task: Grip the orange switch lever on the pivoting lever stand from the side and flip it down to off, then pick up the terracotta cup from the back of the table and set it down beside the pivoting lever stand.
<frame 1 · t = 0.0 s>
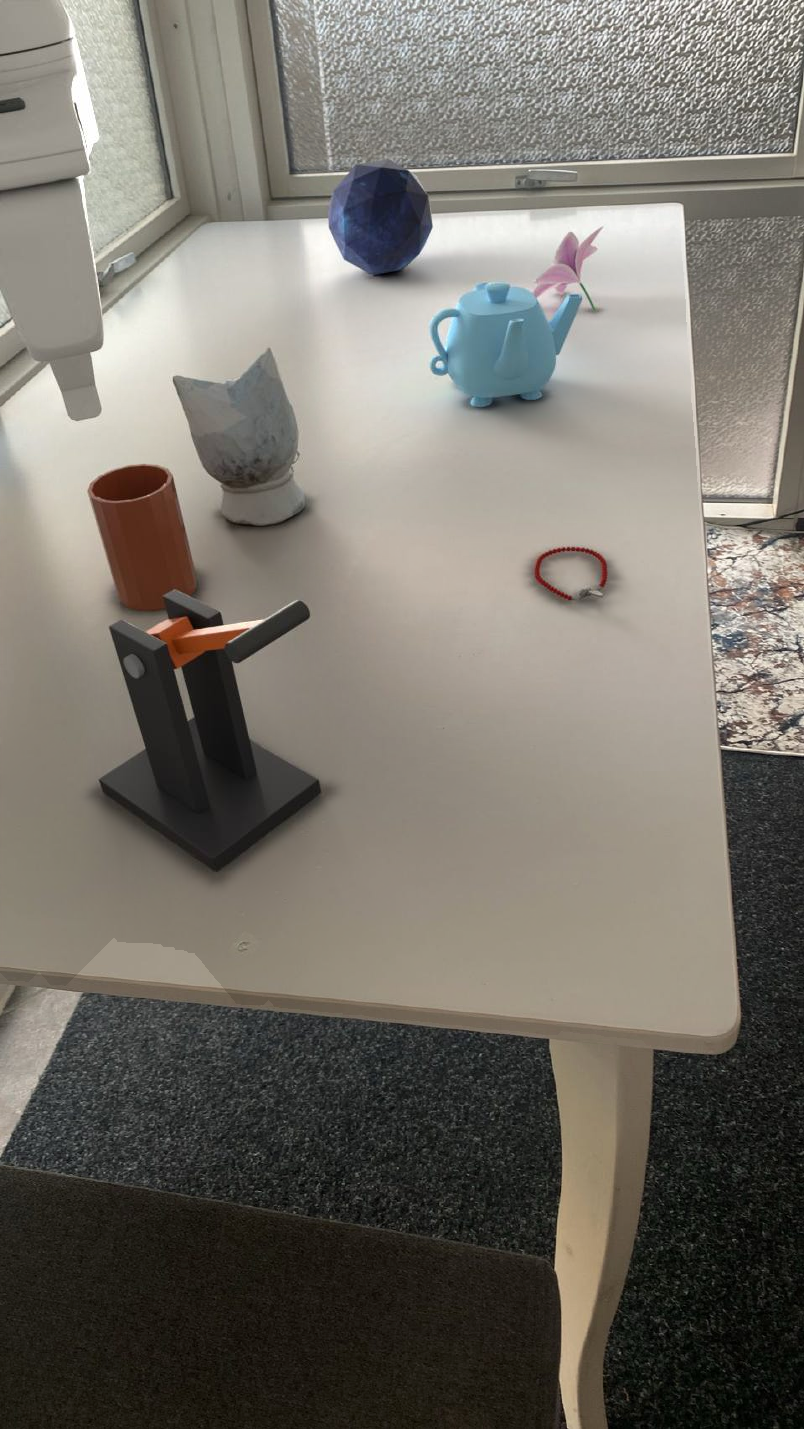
hand: (77, 385, 64), 26 cm above the table, tool pointing down, fingers open, 8 cm apart
cup: (158, 589, 95), on the table
switch lever: (212, 638, 63), point 14 cm above the table, hinge at 26.0°
lily: (567, 306, 142), on the table
red beaded bracelet: (572, 580, 91), on the table
teapot: (506, 390, 122), on the table
pivoting lever stand: (210, 792, 74), on the table
decorative orb: (385, 271, 160), on the table
figurine: (258, 508, 106), on the table
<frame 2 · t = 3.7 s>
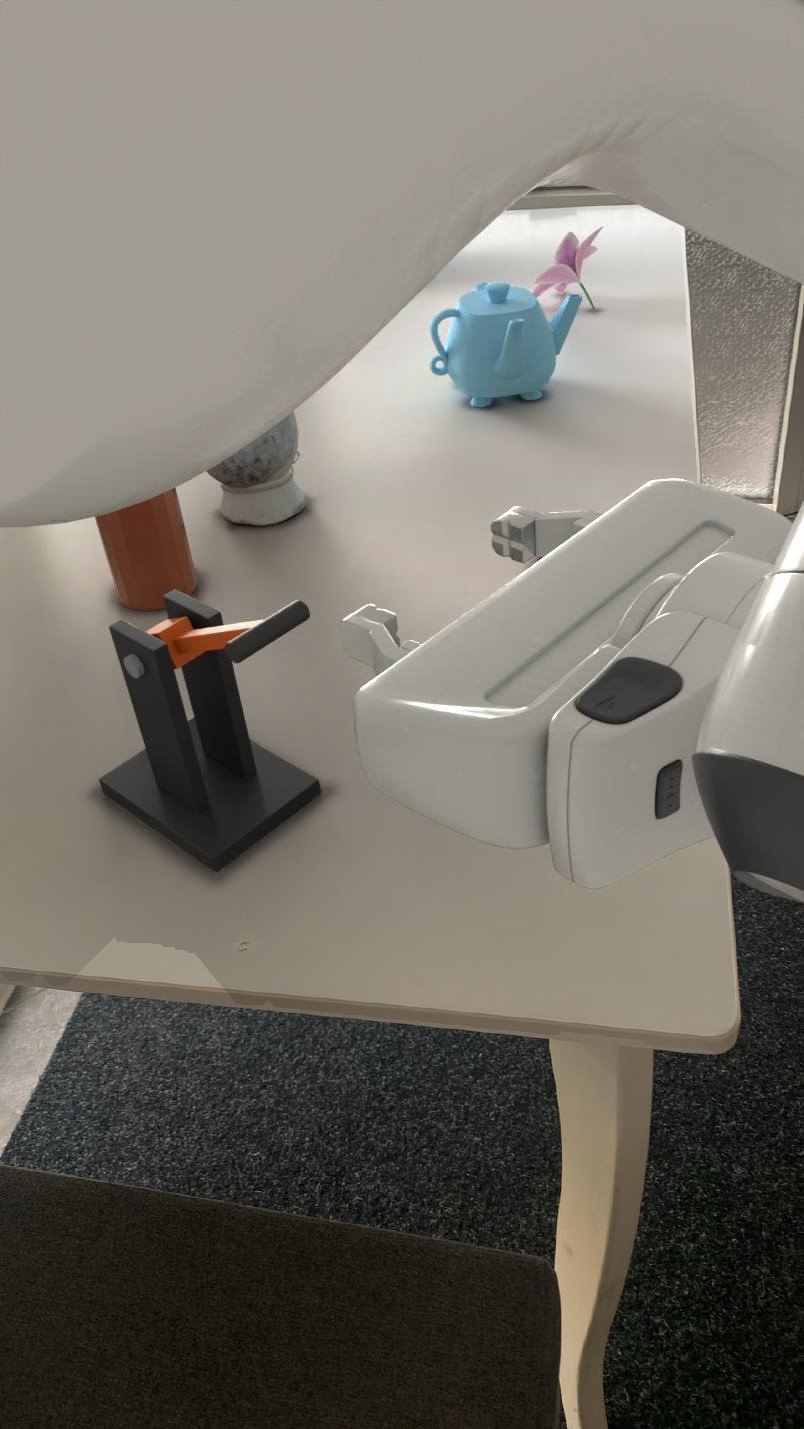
hand: (431, 575, 47), 24 cm above the table, tool horizontal, fingers open, 8 cm apart
nothing on the table moved.
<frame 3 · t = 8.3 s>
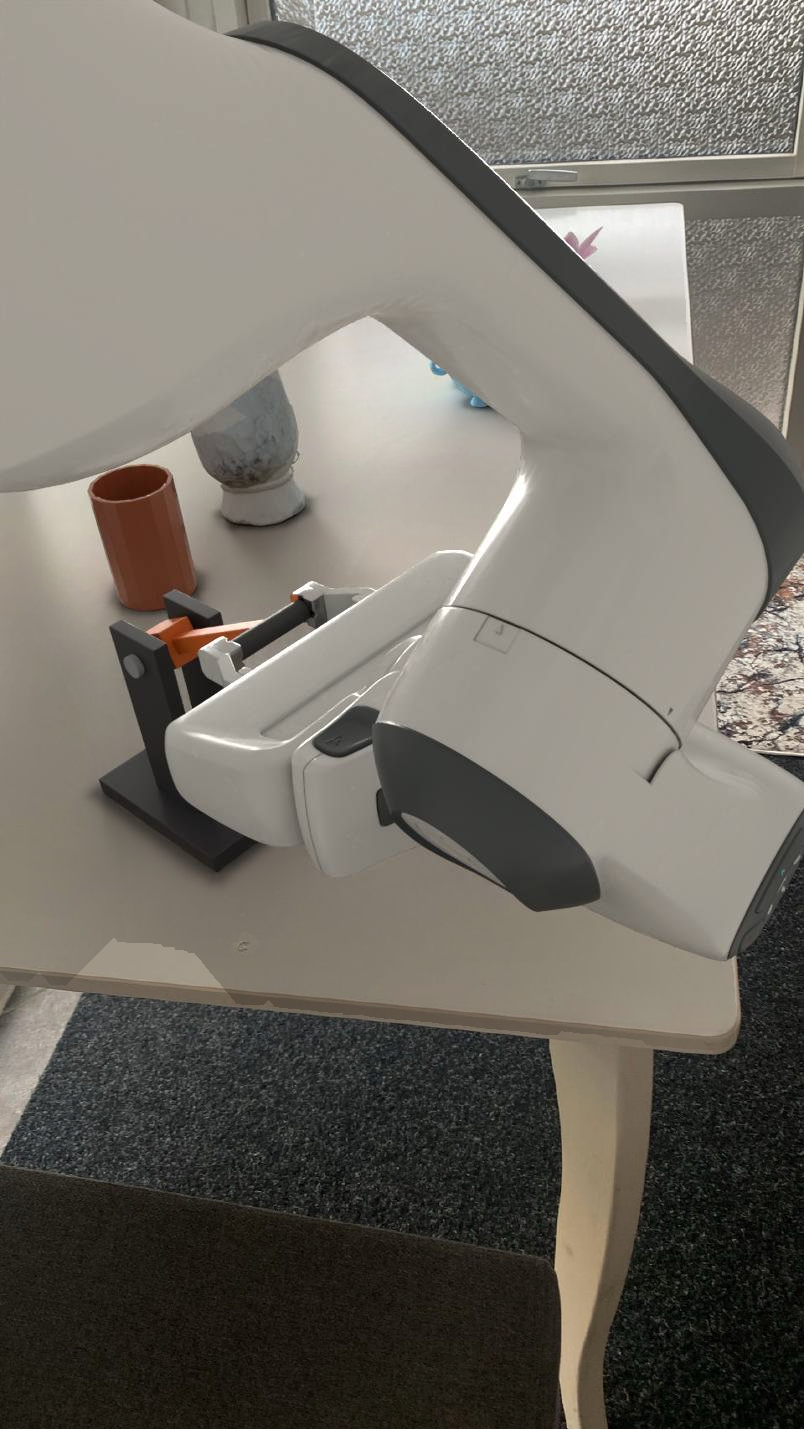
hand: (256, 626, 58), 17 cm above the table, tool horizontal, fingers closed on switch lever, 5 cm apart
switch lever: (212, 638, 63), point 14 cm above the table, hinge at 26.0°, touching gripper
everything else where it was.
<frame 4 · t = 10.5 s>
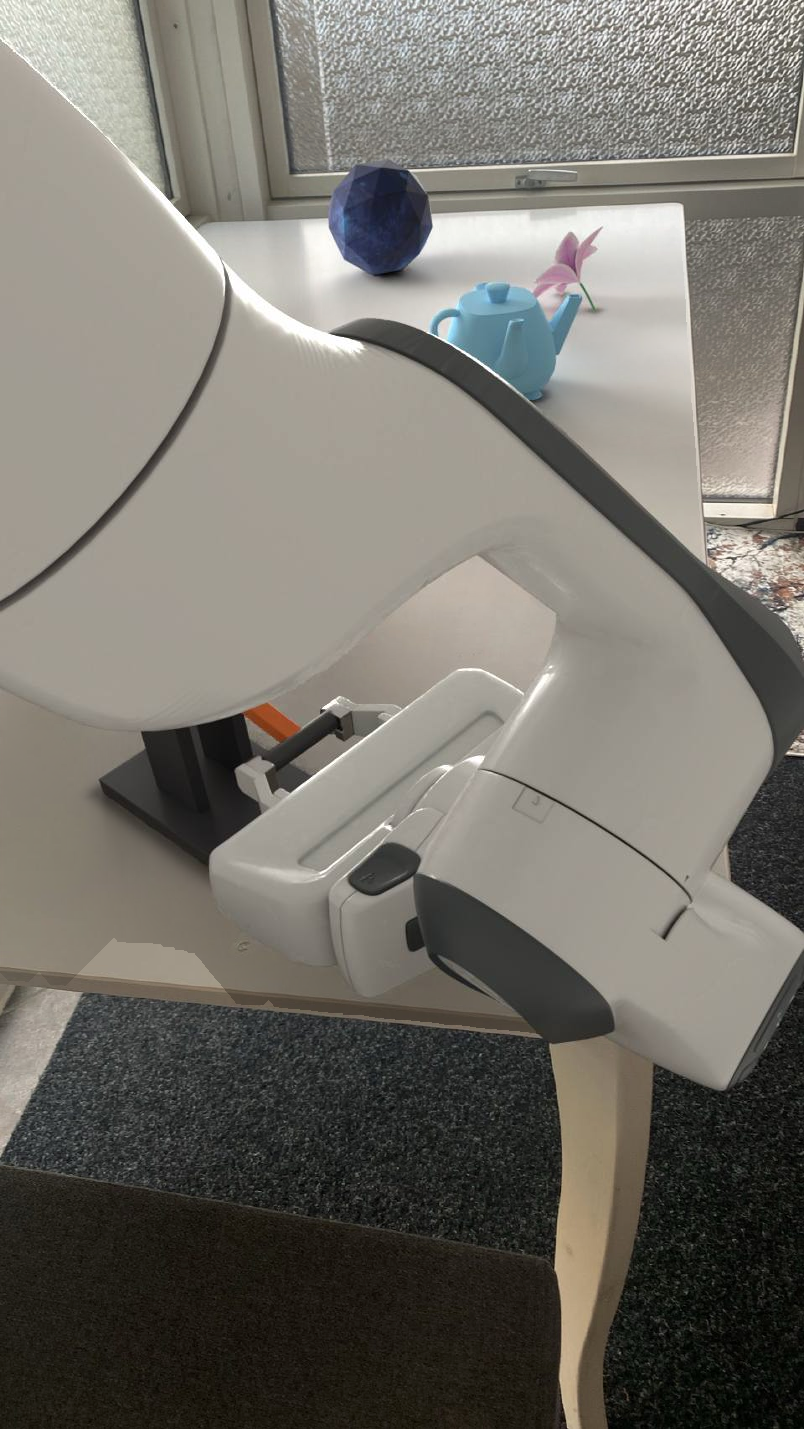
hand: (288, 740, 63), 9 cm above the table, tool horizontal, fingers closed on switch lever, 5 cm apart
switch lever: (228, 687, 64), point 11 cm above the table, hinge at -12.0°, touching gripper
everything else where it was.
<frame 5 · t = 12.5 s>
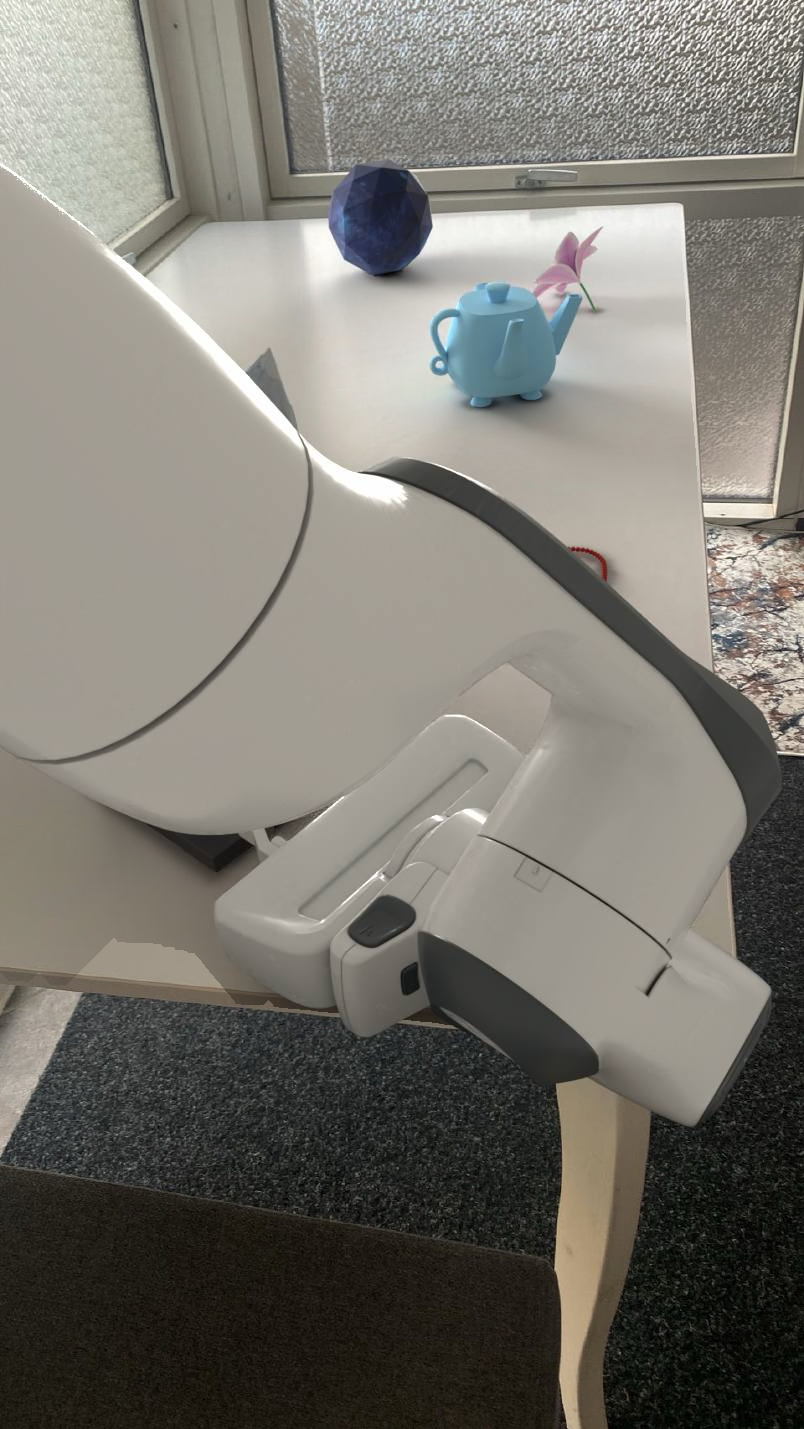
hand: (282, 784, 66), 5 cm above the table, tool horizontal, fingers closed on switch lever, 5 cm apart
switch lever: (225, 706, 66), point 9 cm above the table, hinge at -33.3°, touching gripper
everything else where it was.
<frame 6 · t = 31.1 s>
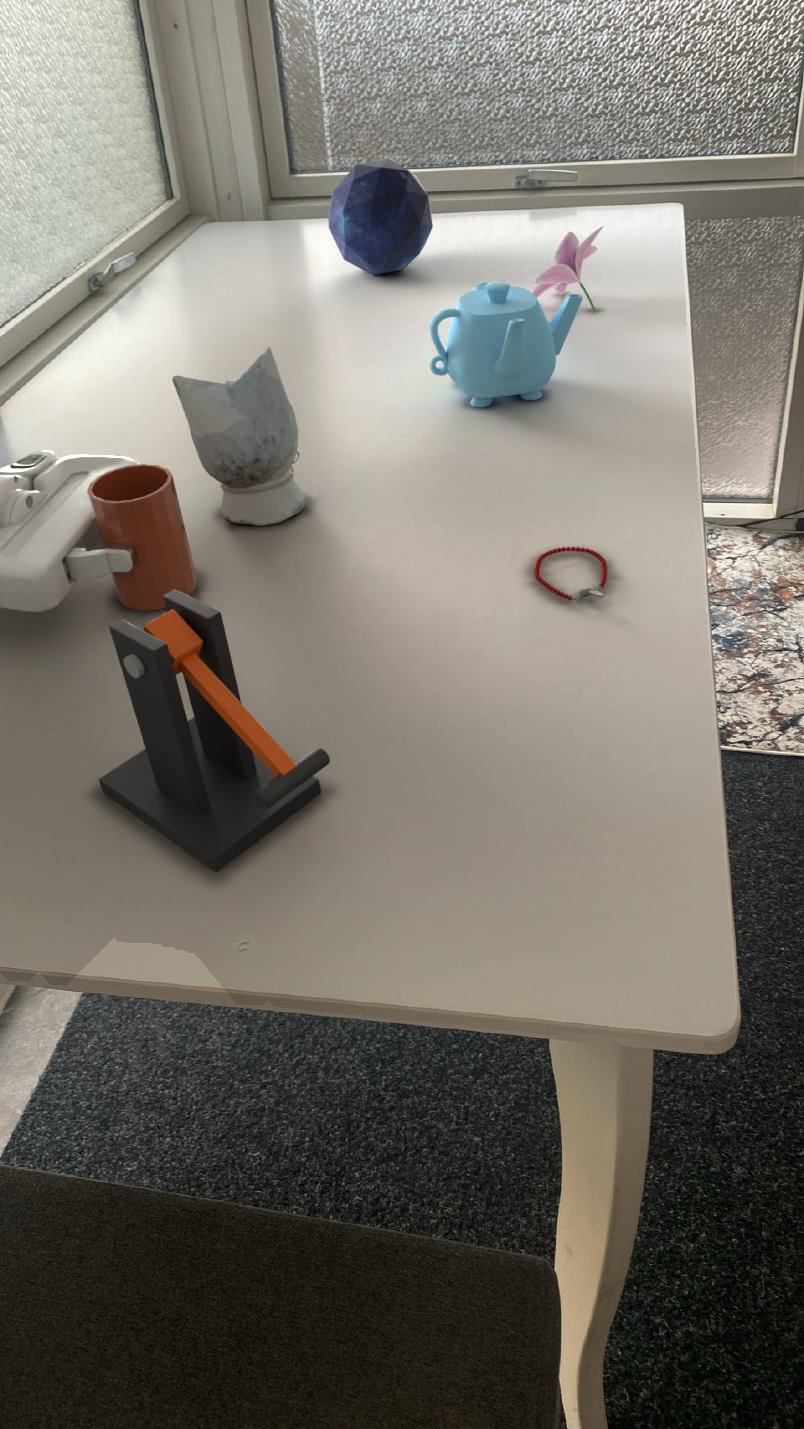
hand: (153, 532, 92), 6 cm above the table, tool horizontal, fingers closed on cup, 7 cm apart
cup: (158, 589, 95), on the table, touching gripper
switch lever: (226, 705, 66), point 9 cm above the table, hinge at -30.8°
everything else where it was.
when the fingers open (5 cm above the table, at t = 40.1 s): cup stays where it is, on the table.
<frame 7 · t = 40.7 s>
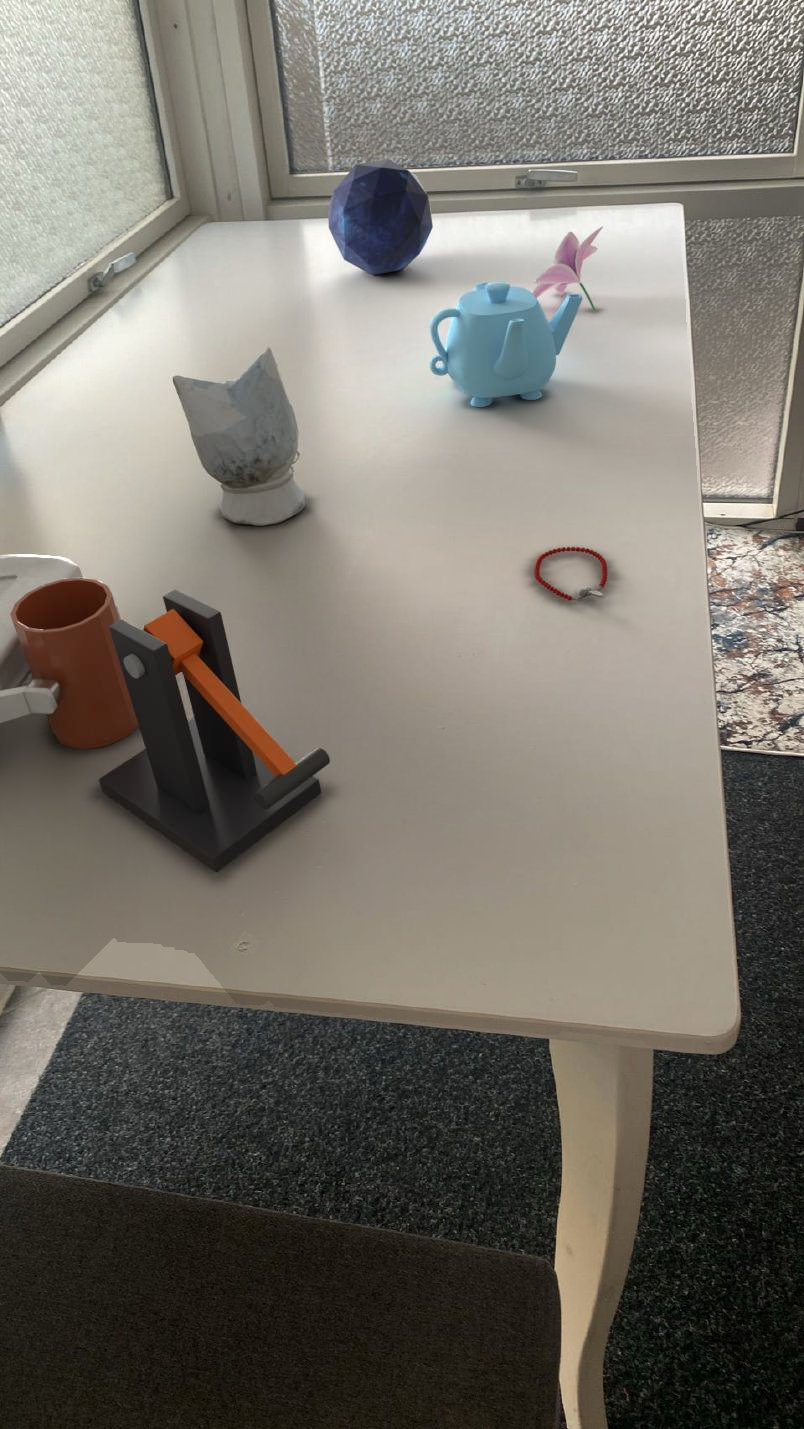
hand: (87, 656, 78), 6 cm above the table, tool horizontal, fingers open, 8 cm apart
cup: (99, 719, 81), on the table
everything else where it was.
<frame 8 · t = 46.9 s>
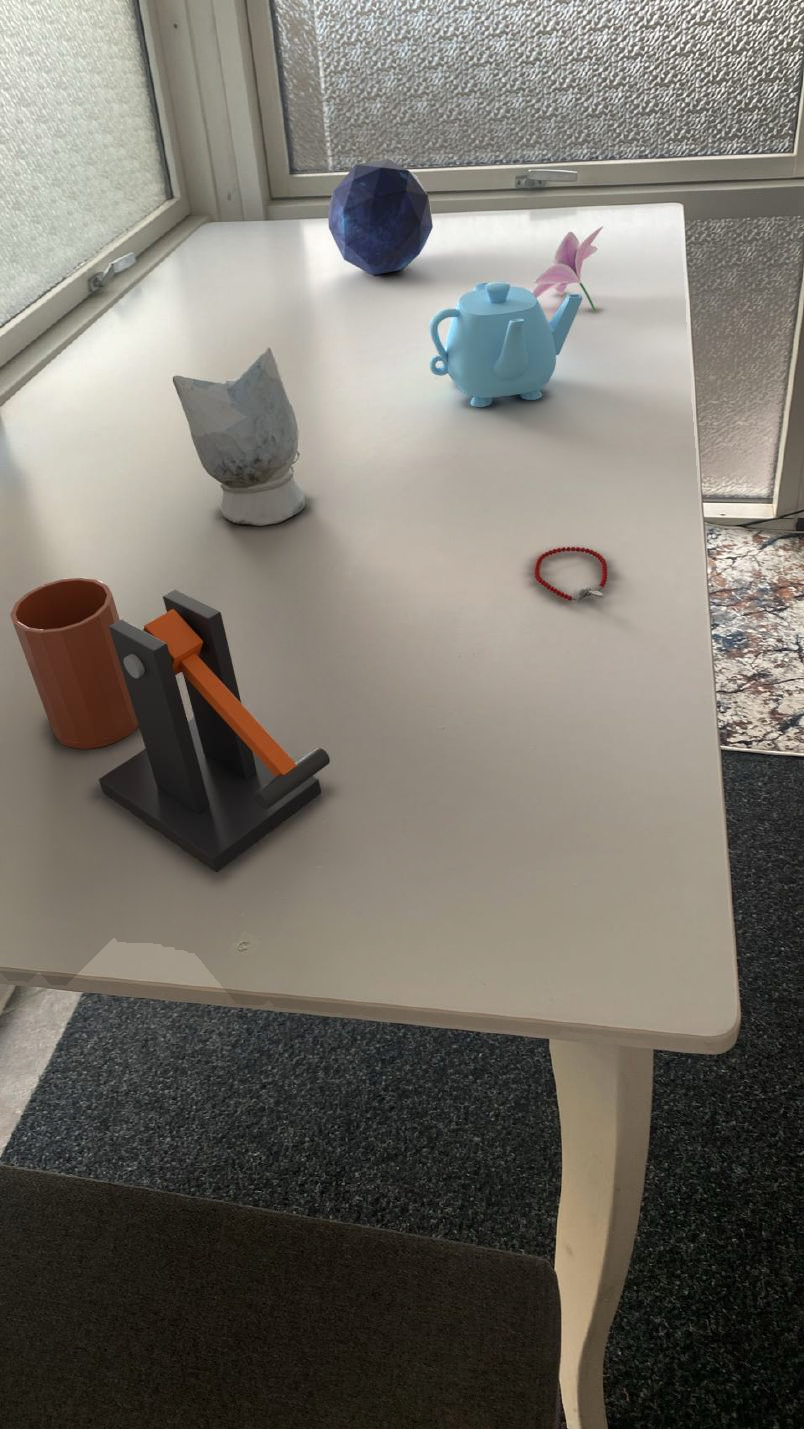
nothing on the table moved.
at the end: switch lever at -31° (first picture: +26°); cup inside the target area on the table beside the pivoting lever stand (0.1 cm from its centre), on the table; cup tilted 0° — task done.
